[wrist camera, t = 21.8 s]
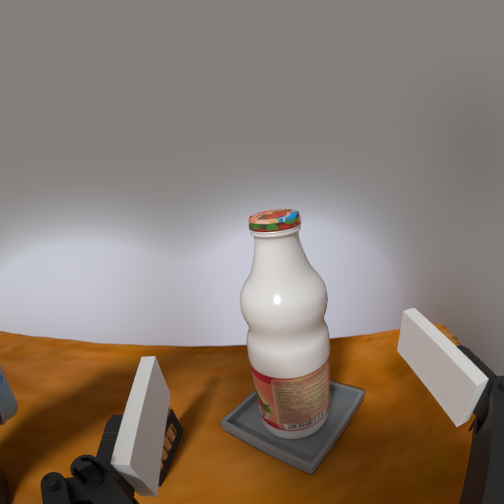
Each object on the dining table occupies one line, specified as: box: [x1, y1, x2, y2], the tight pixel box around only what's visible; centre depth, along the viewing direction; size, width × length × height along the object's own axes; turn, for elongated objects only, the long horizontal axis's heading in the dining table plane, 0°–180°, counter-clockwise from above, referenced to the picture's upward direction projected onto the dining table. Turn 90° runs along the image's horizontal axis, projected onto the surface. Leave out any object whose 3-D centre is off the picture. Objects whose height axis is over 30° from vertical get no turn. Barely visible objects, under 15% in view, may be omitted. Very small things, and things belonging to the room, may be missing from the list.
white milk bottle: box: [240, 209, 330, 439], centre depth 32 cm, size 9×9×28 cm
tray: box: [220, 381, 365, 475], centre depth 37 cm, size 15×15×2 cm
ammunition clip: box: [123, 407, 183, 487], centre depth 30 cm, size 11×2×12 cm, turn 172°
